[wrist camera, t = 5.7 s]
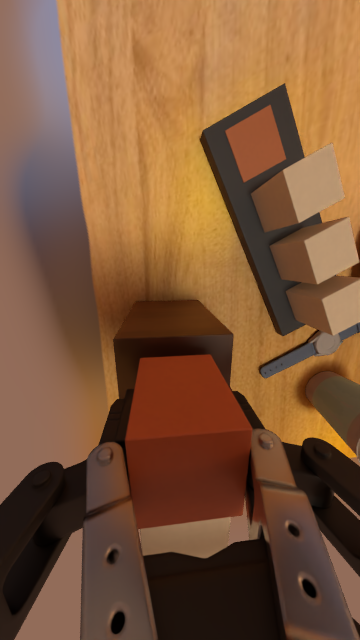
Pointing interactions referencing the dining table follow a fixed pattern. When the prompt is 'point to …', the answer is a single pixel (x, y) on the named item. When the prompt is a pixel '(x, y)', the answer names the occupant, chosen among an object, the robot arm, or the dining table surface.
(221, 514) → the red-brown rectangular block
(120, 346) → the stand
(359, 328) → the wristwatch
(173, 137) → the dining table surface
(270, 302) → the far board
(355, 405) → the coffee cup
